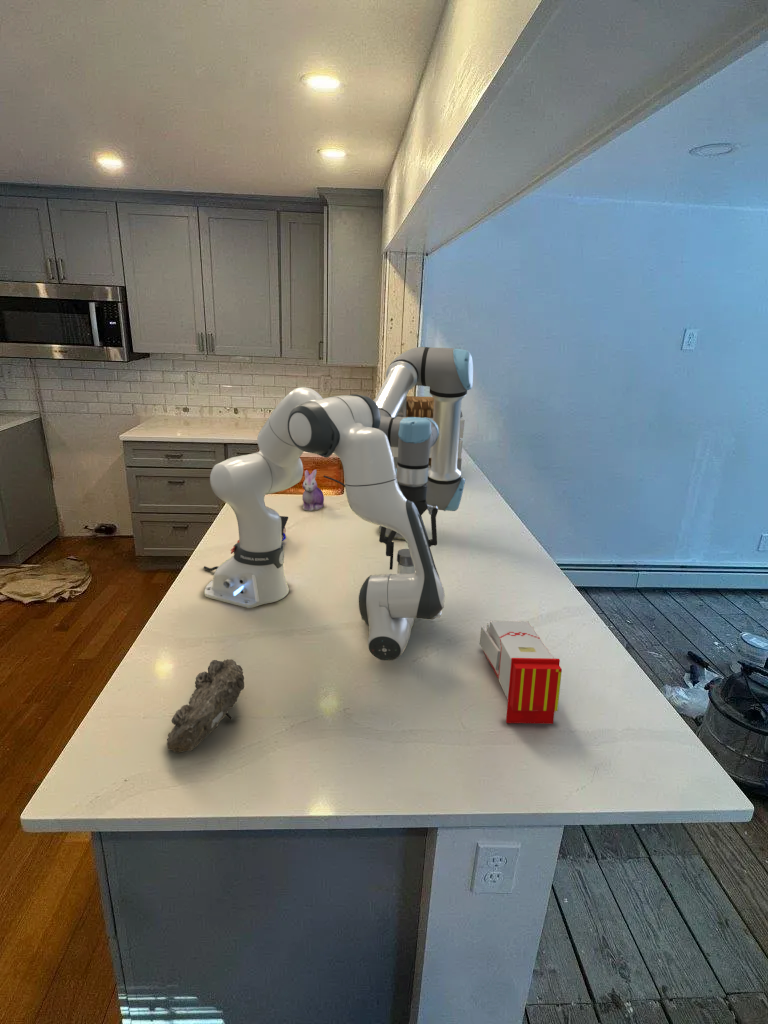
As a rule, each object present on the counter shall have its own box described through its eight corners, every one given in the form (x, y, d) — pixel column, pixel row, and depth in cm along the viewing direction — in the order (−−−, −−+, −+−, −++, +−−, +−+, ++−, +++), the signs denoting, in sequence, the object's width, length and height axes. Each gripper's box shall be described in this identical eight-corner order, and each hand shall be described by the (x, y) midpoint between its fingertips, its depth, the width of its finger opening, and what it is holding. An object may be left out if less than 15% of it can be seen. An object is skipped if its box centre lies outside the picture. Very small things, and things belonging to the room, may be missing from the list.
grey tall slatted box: (382, 463, 289) (386, 382, 275) (445, 464, 293) (451, 384, 279) (390, 482, 257) (394, 392, 243) (460, 483, 261) (468, 394, 247)
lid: (402, 555, 148) (403, 546, 147) (420, 560, 145) (421, 551, 145) (393, 562, 143) (393, 553, 142) (411, 567, 141) (412, 558, 140)
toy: (526, 605, 135) (570, 665, 105) (521, 658, 137) (563, 730, 108) (475, 604, 134) (506, 664, 105) (472, 657, 137) (500, 729, 108)
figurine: (306, 512, 216) (305, 474, 210) (297, 504, 224) (296, 467, 219) (329, 509, 220) (329, 472, 215) (319, 501, 228) (319, 465, 223)
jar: (415, 609, 150) (419, 554, 145) (407, 616, 146) (411, 560, 141) (400, 605, 152) (403, 550, 147) (392, 612, 148) (395, 556, 143)
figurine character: (283, 556, 181) (289, 533, 194) (282, 535, 178) (288, 514, 191) (262, 555, 181) (269, 533, 194) (260, 534, 177) (268, 513, 191)
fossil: (192, 660, 117) (244, 628, 112) (224, 691, 120) (276, 661, 115) (142, 746, 98) (202, 712, 93) (182, 779, 101) (242, 748, 96)
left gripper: (441, 607, 132) (446, 581, 145) (356, 596, 136) (368, 571, 148) (439, 630, 134) (444, 603, 147) (355, 619, 138) (367, 593, 151)
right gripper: (452, 480, 140) (444, 564, 148) (371, 475, 141) (368, 559, 149) (454, 489, 133) (446, 577, 141) (369, 484, 134) (366, 572, 142)
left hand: (405, 587), depth 148 cm, fingers closed on jar, 4 cm apart
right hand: (406, 568), depth 145 cm, fingers open, 7 cm apart
